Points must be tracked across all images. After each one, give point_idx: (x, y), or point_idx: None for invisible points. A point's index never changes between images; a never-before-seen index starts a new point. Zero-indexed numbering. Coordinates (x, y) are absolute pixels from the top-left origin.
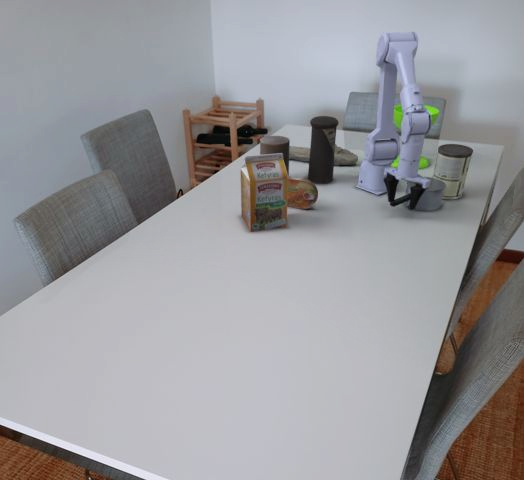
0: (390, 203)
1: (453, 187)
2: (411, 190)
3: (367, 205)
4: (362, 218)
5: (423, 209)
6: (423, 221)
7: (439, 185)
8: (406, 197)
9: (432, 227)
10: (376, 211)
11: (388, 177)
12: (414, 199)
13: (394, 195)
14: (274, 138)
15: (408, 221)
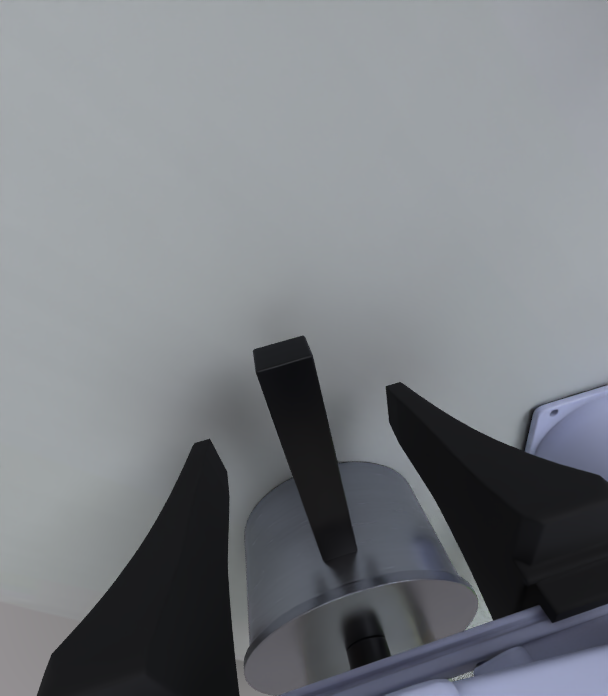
0: (301, 345)
1: None
2: (144, 623)
3: (503, 278)
4: (372, 54)
5: (262, 505)
6: (130, 448)
7: (302, 680)
8: (307, 498)
9: (21, 453)
10: (401, 275)
11: (594, 554)
12: (148, 535)
13: (407, 449)
14: None
15: (160, 375)
